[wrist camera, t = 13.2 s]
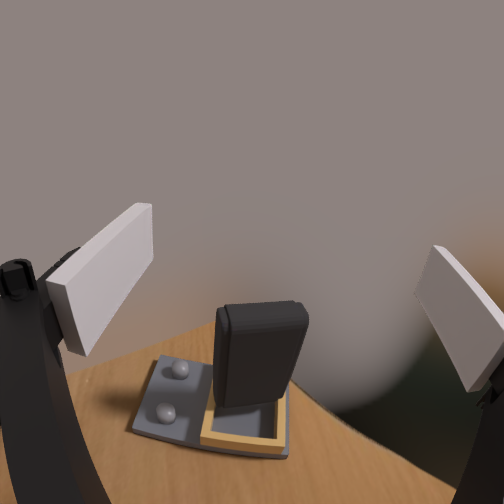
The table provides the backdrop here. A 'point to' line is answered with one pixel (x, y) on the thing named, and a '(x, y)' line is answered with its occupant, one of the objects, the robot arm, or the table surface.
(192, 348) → the table surface
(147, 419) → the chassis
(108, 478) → the table surface
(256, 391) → the card reader
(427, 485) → the table surface
